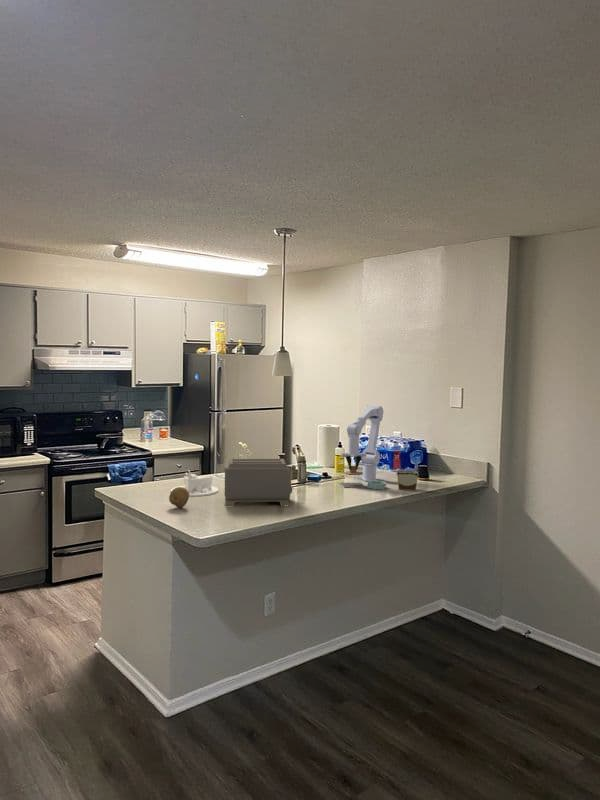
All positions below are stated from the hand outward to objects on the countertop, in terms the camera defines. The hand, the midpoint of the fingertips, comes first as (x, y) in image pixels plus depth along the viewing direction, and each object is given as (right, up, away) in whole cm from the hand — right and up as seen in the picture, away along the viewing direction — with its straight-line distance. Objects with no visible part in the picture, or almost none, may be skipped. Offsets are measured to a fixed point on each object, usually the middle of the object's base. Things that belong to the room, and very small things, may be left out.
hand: (353, 469), depth 352 cm
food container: (+29, -10, -6) cm, 31 cm away
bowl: (+13, -10, -4) cm, 17 cm away
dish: (-86, -10, -22) cm, 89 cm away
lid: (0, -2, 0) cm, 2 cm away
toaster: (-50, -11, -44) cm, 67 cm away
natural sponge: (-87, -12, -60) cm, 106 cm away
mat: (0, -9, +1) cm, 9 cm away
